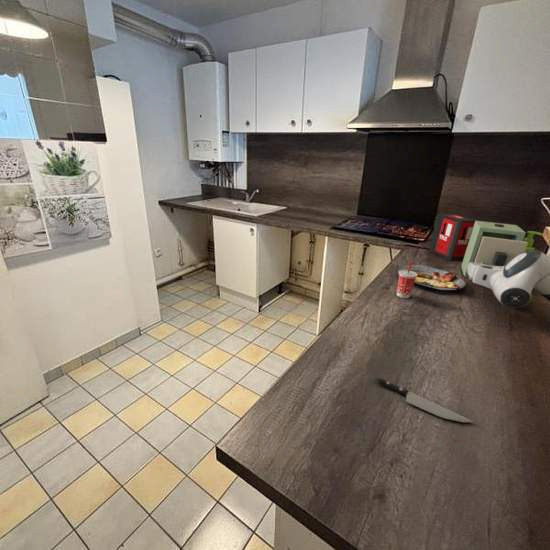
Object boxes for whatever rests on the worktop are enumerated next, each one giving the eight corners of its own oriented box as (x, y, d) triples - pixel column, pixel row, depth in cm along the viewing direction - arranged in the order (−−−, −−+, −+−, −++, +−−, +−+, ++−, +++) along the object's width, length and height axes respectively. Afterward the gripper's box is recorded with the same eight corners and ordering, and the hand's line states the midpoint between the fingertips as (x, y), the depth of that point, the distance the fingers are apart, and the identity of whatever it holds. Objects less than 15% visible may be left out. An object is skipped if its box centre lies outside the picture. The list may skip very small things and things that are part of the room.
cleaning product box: (465, 260, 146) (478, 220, 139) (450, 260, 145) (462, 221, 137) (442, 249, 161) (452, 213, 153) (428, 250, 160) (438, 213, 152)
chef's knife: (472, 434, 55) (473, 422, 57) (474, 430, 54) (475, 418, 57) (372, 387, 65) (376, 379, 67) (373, 384, 64) (377, 375, 66)
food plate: (467, 280, 123) (470, 272, 121) (460, 300, 105) (463, 292, 104) (405, 265, 136) (407, 258, 135) (390, 281, 119) (392, 273, 117)
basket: (512, 291, 110) (531, 245, 102) (470, 283, 115) (485, 239, 108) (503, 275, 124) (518, 234, 117) (465, 269, 129) (478, 229, 122)
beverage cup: (413, 294, 108) (422, 259, 103) (410, 300, 104) (419, 264, 98) (396, 290, 112) (404, 255, 106) (392, 296, 107) (400, 260, 101)
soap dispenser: (524, 279, 126) (542, 234, 118) (505, 274, 130) (521, 230, 123) (527, 276, 129) (546, 232, 121) (509, 271, 134) (525, 228, 126)
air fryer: (505, 284, 120) (526, 231, 111) (464, 276, 126) (480, 225, 117) (499, 272, 132) (517, 223, 123) (461, 266, 138) (475, 219, 129)
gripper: (545, 277, 95) (533, 264, 106) (472, 265, 103) (468, 254, 114) (538, 294, 97) (526, 279, 109) (467, 281, 105) (464, 269, 117)
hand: (496, 266), depth 112 cm, fingers open, 8 cm apart
